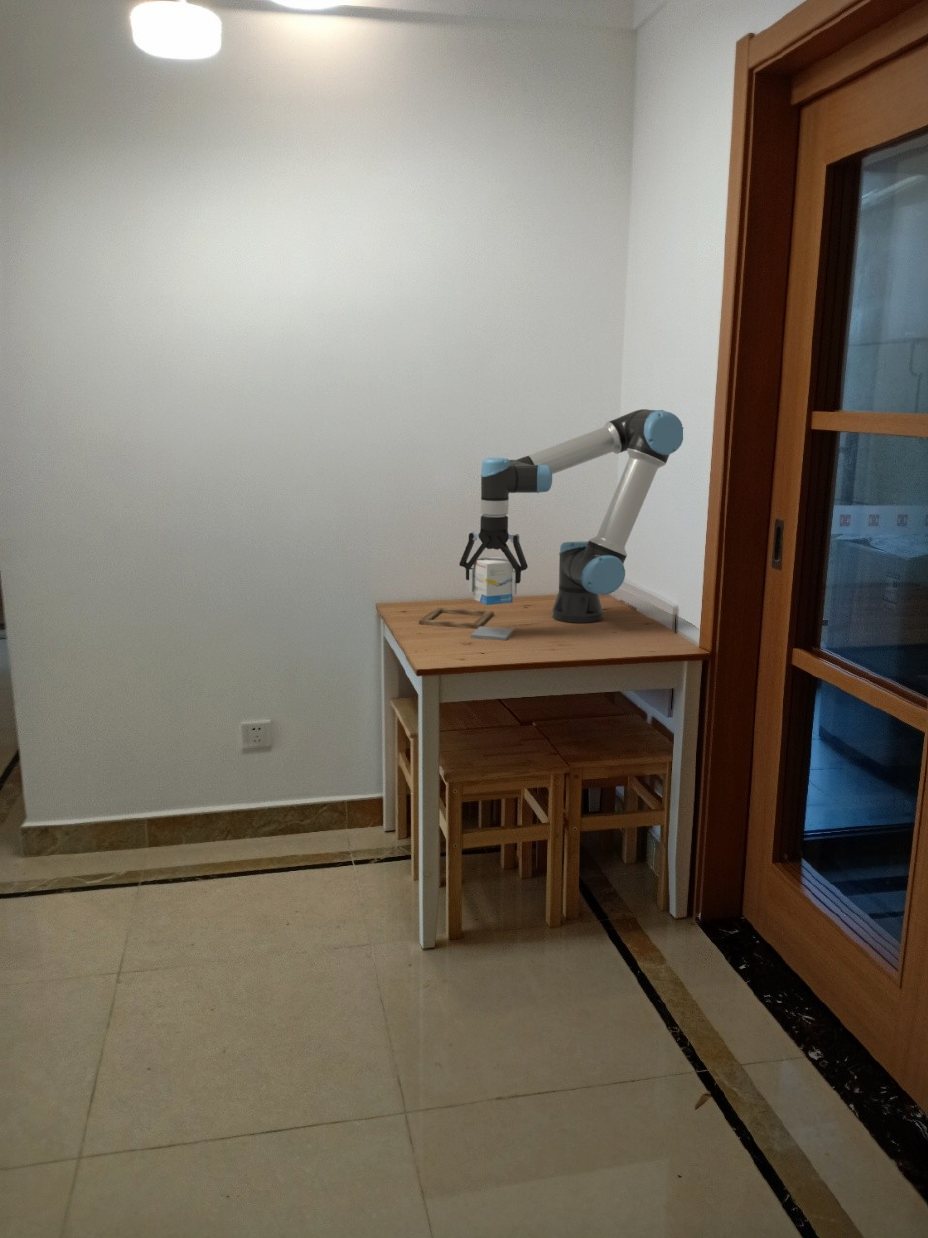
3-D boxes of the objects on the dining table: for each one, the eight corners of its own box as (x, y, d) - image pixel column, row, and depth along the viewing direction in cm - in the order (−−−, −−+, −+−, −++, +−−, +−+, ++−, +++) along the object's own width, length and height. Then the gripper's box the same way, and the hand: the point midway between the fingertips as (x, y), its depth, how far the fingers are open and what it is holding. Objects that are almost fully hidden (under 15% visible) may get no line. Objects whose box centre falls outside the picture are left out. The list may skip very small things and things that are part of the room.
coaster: (514, 631, 288) (514, 628, 288) (506, 640, 278) (506, 637, 278) (479, 629, 290) (479, 626, 290) (470, 637, 281) (470, 634, 281)
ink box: (513, 603, 280) (514, 561, 277) (486, 605, 277) (486, 563, 274) (499, 596, 288) (500, 556, 285) (472, 599, 284) (473, 558, 281)
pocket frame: (493, 614, 308) (493, 611, 308) (478, 628, 291) (478, 625, 291) (436, 610, 312) (436, 607, 312) (418, 624, 296) (418, 620, 295)
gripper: (540, 515, 277) (537, 593, 282) (456, 511, 283) (455, 587, 288) (534, 518, 270) (532, 598, 275) (448, 514, 276) (447, 592, 281)
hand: (492, 593), depth 282 cm, fingers closed on ink box, 11 cm apart
